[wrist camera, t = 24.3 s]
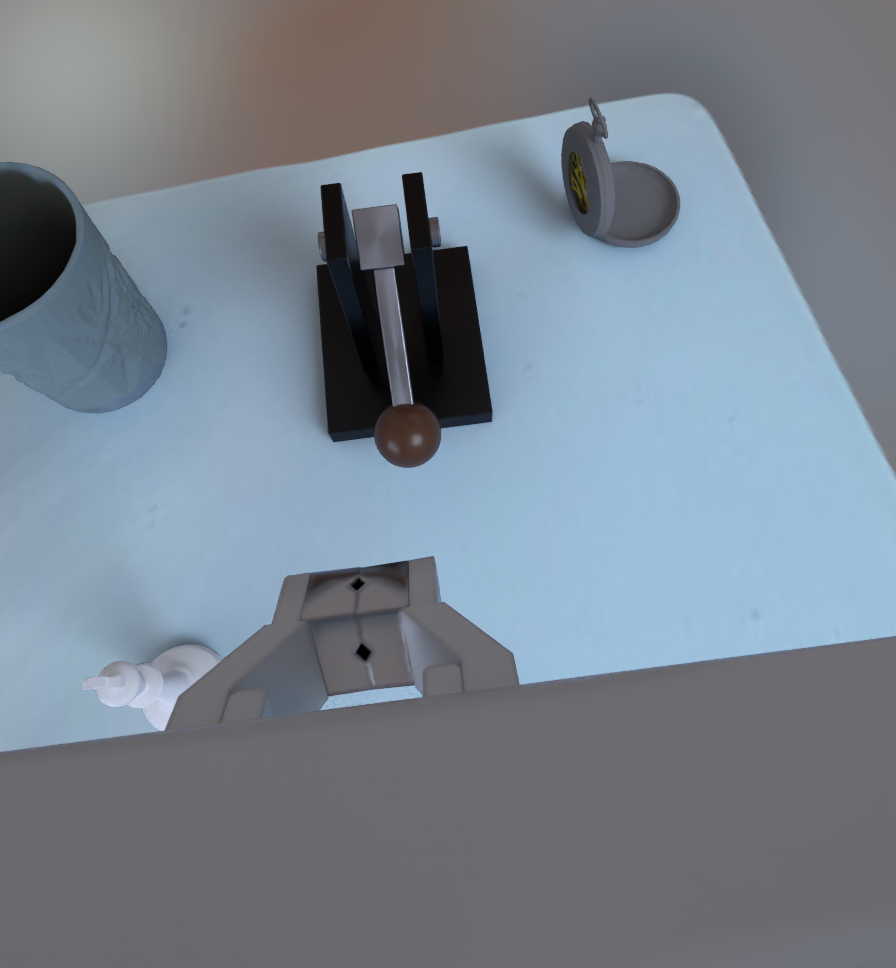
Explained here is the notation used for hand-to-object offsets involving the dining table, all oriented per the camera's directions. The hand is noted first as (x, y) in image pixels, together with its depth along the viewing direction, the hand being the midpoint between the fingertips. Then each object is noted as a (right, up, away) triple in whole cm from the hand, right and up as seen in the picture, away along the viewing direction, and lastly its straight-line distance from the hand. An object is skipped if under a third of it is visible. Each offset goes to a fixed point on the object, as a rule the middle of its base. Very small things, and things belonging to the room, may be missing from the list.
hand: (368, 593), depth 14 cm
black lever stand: (-1, +11, +32) cm, 34 cm away
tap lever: (-1, +10, +24) cm, 26 cm away
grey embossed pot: (-21, +10, +33) cm, 40 cm away
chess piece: (-13, -9, +26) cm, 30 cm away
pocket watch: (+13, +21, +34) cm, 42 cm away
